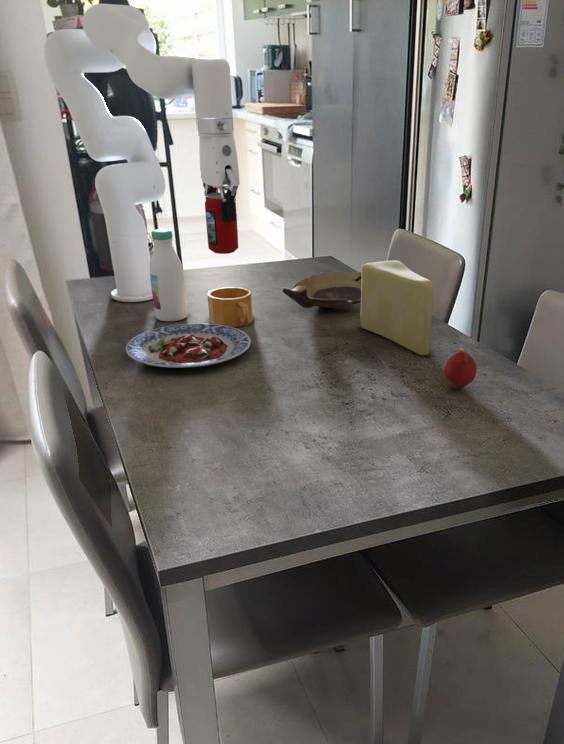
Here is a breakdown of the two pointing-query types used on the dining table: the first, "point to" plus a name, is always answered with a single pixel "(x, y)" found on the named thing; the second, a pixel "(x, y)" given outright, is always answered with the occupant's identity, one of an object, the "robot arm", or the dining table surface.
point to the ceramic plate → (188, 345)
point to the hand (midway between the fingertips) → (221, 217)
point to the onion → (460, 369)
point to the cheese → (397, 304)
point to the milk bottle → (167, 279)
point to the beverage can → (219, 227)
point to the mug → (230, 306)
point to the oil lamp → (327, 290)
